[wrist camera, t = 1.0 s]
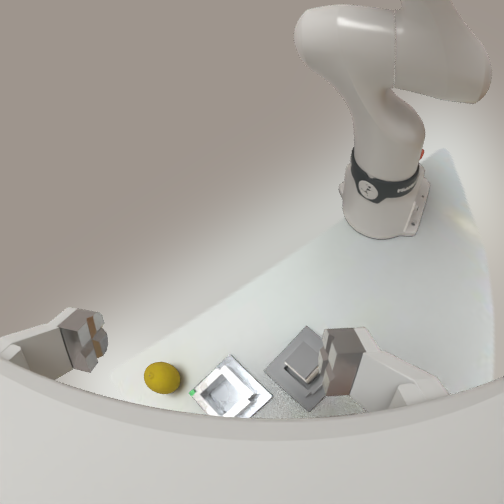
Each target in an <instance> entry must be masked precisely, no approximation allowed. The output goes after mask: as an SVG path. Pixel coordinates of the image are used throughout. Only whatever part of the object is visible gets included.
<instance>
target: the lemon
mask: <svg viewBox="0 0 504 504" xmlns="http://www.w3.org/2000/svg"><path fill="white" fill-rule="evenodd" d="M144 380H145V383H146V385H147V386H148V387H149V388H150V389H151V390H152V391H154V392H157V393H160V394H169V393H172V392H174V391H175V390H176V389H177V388H178V387H179V384H180V375H179V372H178V371H177V369H176V368H175V367H174V366H172V365H170V364H168V363H165V362H156V363H153V364H151V365H149V366H148V367H147V368H146V370H145V373H144Z"/></svg>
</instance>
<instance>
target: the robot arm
mask: <svg viewBox="0 0 504 504" xmlns="http://www.w3.org/2000/svg"><path fill="white" fill-rule="evenodd" d="M400 1H401V4H402V7H401V9H399V10H395V22H396V61H395V24H394V23H395V22H394V10H389V9H381V8H375V7H367V6H358V5H346V4H340V5H330V6H323V7H318V8H312V9H308V10H306V11H305V12H304V13H303V14H302V16H301V17H300V18H299V20H298V22H297V24H296V27H295V32H294V43H295V47H296V50H297V53H298V55H299V56H300V58H301V60H302V61H303V63H304V64H305V65H306V66H307V67H308V68H309V69H310V70H311V71H313V72H315V73H316V74H318V75H320V76H321V77H322V78H324V79H325V80H326V81H327V82H329V83H330V84H331V85H332V86H333V87H334V88H335V89H336V90H337V92H338V93H339V94H340V95H341V97H342V98H343V99H344V101H345V103H346V104H347V106H348V108H349V110H350V113H351V116H352V120H353V128H354V147H353V150H352V155H351V161H350V164H349V165H347V167H346V172H345V179H344V182H342V183H341V184H340V185H339V193H340V195H341V197H342V199H343V212H344V216H345V218H346V220H347V221H348V223H349V224H350V225H351V226H352V227H353V228H354V229H355V230H356V231H358V232H359V233H361V234H363V235H365V236H367V237H371V238H375V239H389V238H393V237H396V236H400V235H403V236H414V235H415V234H416V232H417V229H418V226H419V223H420V220H421V217H422V213H423V210H424V207H425V203H426V200H427V196H428V192H429V188H430V184H429V182H428V181H427V179H426V178H425V177H424V173H425V170H424V168H423V167H422V165H421V164H420V163H419V160H420V159H421V158H422V156H423V154H424V150H423V149H422V147H423V143H424V139H425V128H424V124H423V122H422V120H421V118H420V117H419V115H418V114H417V112H416V111H415V110H414V109H413V108H412V107H411V106H410V105H409V104H407V103H406V102H405V101H403V100H402V99H400V98H399V97H398V96H397V95H396V94H395V93H394V92H393V91H392V90H391V88H393V86H394V65H395V86H394V87H395V88H398V89H402V90H407V91H411V92H415V93H419V94H423V95H426V96H430V97H433V98H436V99H440V100H445V101H452V102H460V103H469V104H475V103H476V102H478V101H480V100H481V99H482V98H483V97H484V96H485V94H486V93H487V91H488V89H489V87H490V84H491V79H492V69H491V63H490V59H489V56H488V54H487V52H486V50H485V48H484V46H483V45H482V43H481V42H480V41H479V39H478V38H477V37H476V36H475V35H474V34H473V33H472V31H471V30H470V29H469V28H468V26H467V25H466V24H465V23H464V21H463V19H462V18H461V16H460V15H459V13H458V12H457V10H456V9H455V7H454V5H453V3H452V1H451V0H400ZM395 62H396V63H395ZM394 63H395V64H394ZM411 224H413V225H414V226H413V225H411ZM103 325H104V320H103V316H102V315H101V314H100V313H99V312H93V311H89V310H83V309H79V308H73V307H67V308H66V309H65V310H64V311H63V312H61V313H60V314H59V315H58V316H56V317H55V318H54V319H53V320H52V321H51V322H49V323H48V324H42V325H39V326H36V327H32V328H29V329H26V330H23V331H19V332H16V333H13V334H9V335H6V336H3V337H0V504H504V376H503V377H501V378H498V379H496V380H493V381H491V382H488V383H485V384H483V385H480V386H477V387H474V388H471V389H468V390H465V391H462V392H459V393H455V394H452V395H449V393H448V392H447V390H446V389H445V388H444V386H443V385H442V383H441V382H440V381H439V379H438V378H437V377H436V376H434V375H432V374H430V373H428V372H426V371H424V370H422V369H420V368H418V367H416V366H414V365H412V364H410V363H408V362H406V361H404V360H402V359H400V358H398V357H396V356H394V355H392V354H390V353H388V352H386V351H381V350H380V348H379V347H378V345H377V344H376V342H375V340H374V339H373V337H372V336H371V334H370V333H369V331H368V329H367V328H365V327H357V328H339V329H324V332H323V336H322V342H323V345H324V346H323V347H322V348H321V349H320V351H319V357H318V368H319V373H320V375H321V376H322V377H324V378H323V382H322V384H323V388H324V391H325V395H326V396H339V395H349V396H350V397H351V398H352V399H353V400H355V401H356V402H357V403H358V404H359V405H360V406H361V407H363V408H364V409H365V410H366V411H367V413H359V414H351V415H342V416H330V417H316V418H288V419H266V418H239V417H224V416H213V415H203V414H194V413H186V412H179V411H172V410H166V409H160V408H155V407H150V406H145V405H140V404H135V403H130V402H126V401H122V400H118V399H114V398H110V397H106V396H102V395H98V394H95V393H92V392H88V391H85V390H82V389H78V388H76V387H72V386H70V385H67V384H64V383H61V382H58V381H55V379H57V378H59V377H61V376H62V375H64V374H66V373H67V372H69V371H71V370H73V368H74V369H77V370H81V371H85V372H90V373H91V371H92V370H93V369H94V367H95V366H96V364H97V363H98V360H97V358H99V357H101V356H103V355H104V354H105V352H106V350H107V346H108V337H107V333H106V332H105V331H104V329H103V328H102V327H103Z"/></svg>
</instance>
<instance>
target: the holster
mask: <svg viewBox="0 0 504 504" xmlns="http://www.w3.org/2000/svg"><path fill="white" fill-rule="evenodd" d="M303 341H304V342H305V343H307V344H308V345H309V346H310V347H311V348H312V349H314V350H315V351H316V352H317V353H318V354H319V351H320V349H321V348H322V347H323V346H324V345H323V342H322V338H321V337H320V336H318V335H317V334H316V333H315V332H314V331H312V330H311V329H310V328H309V327H308V326H306V327H305V328H304V329H303V330H302V331H301V332H300V333H299V334H298V335H297V336H296V337H295V339H294V340H293V341H292V342H291V343H290V344H289V345H288V346H287V347H286V348H285V349H284V350H283V351H282V352H281V353H280V354H279V355H278V356H277V357H276V358H275V359H274V360H273V361H272V362H271V364H270V365H269V366H268V367H267V368H266V369H265V370H264V372H265V373H266V374H267V375H268V376H269V377H271V378H272V379H273V380H274V381H275V382H276V383H277V384H278V385H279V386H280V387H281V388H282V389H284V390H285V391H286V392H287V393H288V394H289V395H290V396H291V397H292V398H294V399H295V400H296V401H297V402H298V403H299V404H300V405H302V406H303V407H304V408H305V409H306V410H307V411H308V412H310V411H311V410H312V409H313V408H314V407H315V406H316V405H317V404H318V403H319V401H320V400H321V399H322V398H323V397H324V396H325V391H324V388H323V384H322V382H323V378H324V377H322V376H321V375H320V373H319V374H318V375H317V376H316V377H315V378H314V379H313V380H312V381H311V382H310V383H309V384H308V383H306V382H305V381H304V380H303V379H302V378H301V377H299V376H298V375H297V374H296V373H295V372H294V371H293V370H292V369H290V368H289V367H288V366H287V365H286V364H285V360H286V359H287V358H288V357H289V356H290V355H291V354H292V353H293V352H294V351H295V349H296V348H297V347H298V346H299V345H300V344H301V343H302V342H303Z"/></svg>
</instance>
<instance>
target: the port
mask: <svg viewBox="0 0 504 504" xmlns="http://www.w3.org/2000/svg"><path fill="white" fill-rule="evenodd" d="M189 394H190V395H191V396H192V398H193V399H194V400H195V401H196V402H197V403H198V405H199V406H200V407H201V408H202V409H203V410H204V411H205V412H206V414H207V415H213V416H224V417H239V418H250V417H252V416H253V415H254V414H255V413H256V412H257V411H258V410H259V409H260V408H261V407H262V406H263V405H265V404H266V403H267V402H268V401H269V400H270V399H271V398H272V397H273V395H271V394H270V393H269V392H268V391H267V390H266V389H265V388H264V387H263V386H262V385H261V384H260V383H259V382H258V381H257V380H256V379H255V378H254V377H253V376H252V375H251V374H250V373H249V372H248V371H247V370H245V369H244V368H243V367H242V366H241V365H240V364H239V362H238V361H237V360H236V359H235V358H234V357H233V356H232V355H230V354H229V355H228V356H227V357H226V358H225V359H224V360H223V361H222V362H221V363H220V364H219V365H218V366H217V367H216V368H215V369H214V370H213V371H212V372H211V373H210V374H209V375H208V376H206V377H205V378H204V379H203V380H202V381H201V382H200V383H199V384H198V385H197V386H196V387H195V388H194V389H193V390H192V391H190V392H189Z"/></svg>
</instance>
